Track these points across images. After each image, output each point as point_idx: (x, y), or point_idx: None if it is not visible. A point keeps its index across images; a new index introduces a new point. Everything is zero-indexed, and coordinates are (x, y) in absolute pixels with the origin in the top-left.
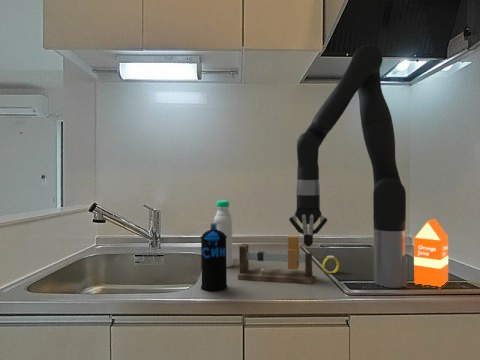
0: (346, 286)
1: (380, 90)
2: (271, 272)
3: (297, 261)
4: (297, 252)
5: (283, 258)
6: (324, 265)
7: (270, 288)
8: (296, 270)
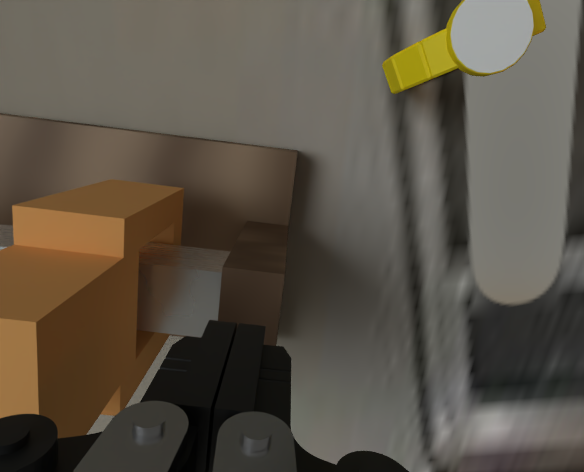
0: (465, 360)
1: None
2: (5, 213)
3: None
4: (132, 365)
5: None
6: (400, 91)
7: None
8: (177, 141)
